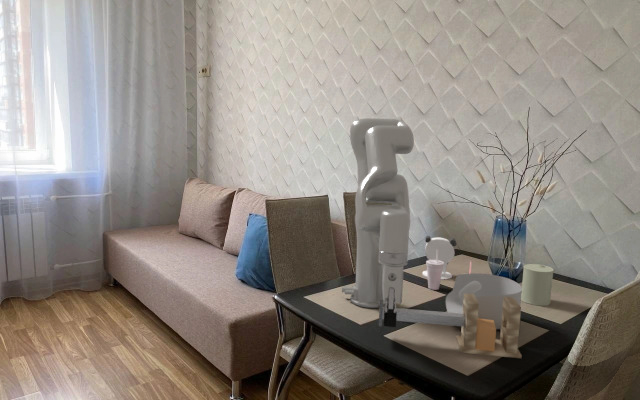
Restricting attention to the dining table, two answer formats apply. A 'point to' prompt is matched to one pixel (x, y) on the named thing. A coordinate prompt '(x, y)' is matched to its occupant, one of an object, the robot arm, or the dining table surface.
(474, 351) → the bracket
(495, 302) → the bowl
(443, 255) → the panda figurine
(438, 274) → the smoothie
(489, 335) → the block
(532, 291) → the can
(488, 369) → the dining table surface
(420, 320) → the shaft
